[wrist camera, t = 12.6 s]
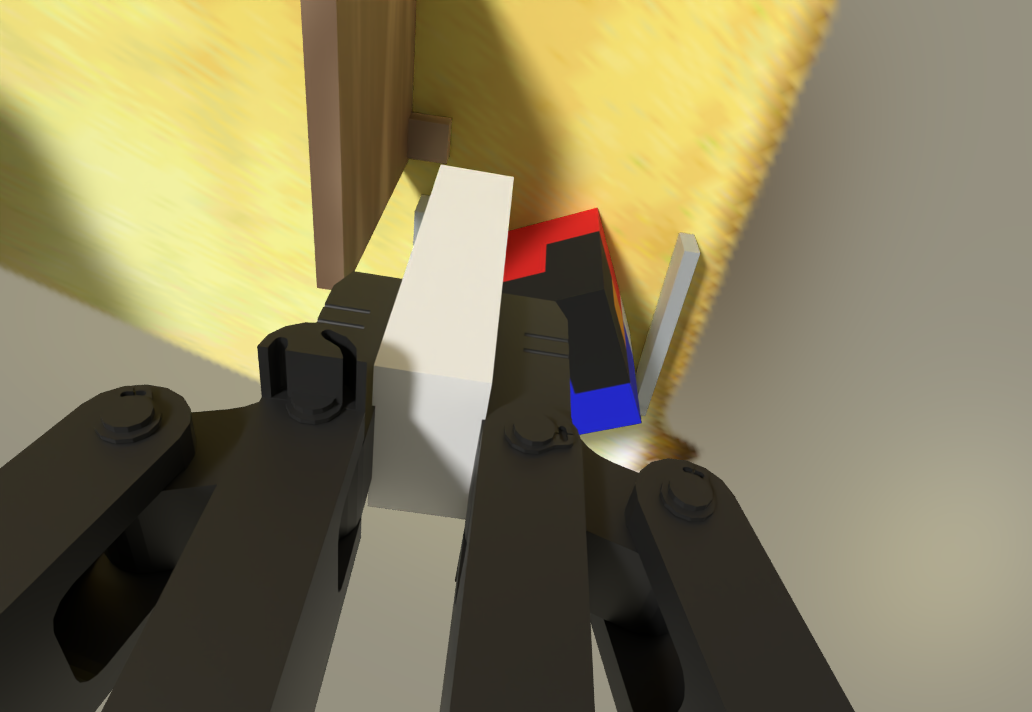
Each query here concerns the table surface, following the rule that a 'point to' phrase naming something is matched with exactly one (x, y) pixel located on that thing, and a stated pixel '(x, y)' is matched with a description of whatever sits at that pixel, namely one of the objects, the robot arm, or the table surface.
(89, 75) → the table surface
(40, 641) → the robot arm
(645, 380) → the corral
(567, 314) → the puzzle toy
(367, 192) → the screen
